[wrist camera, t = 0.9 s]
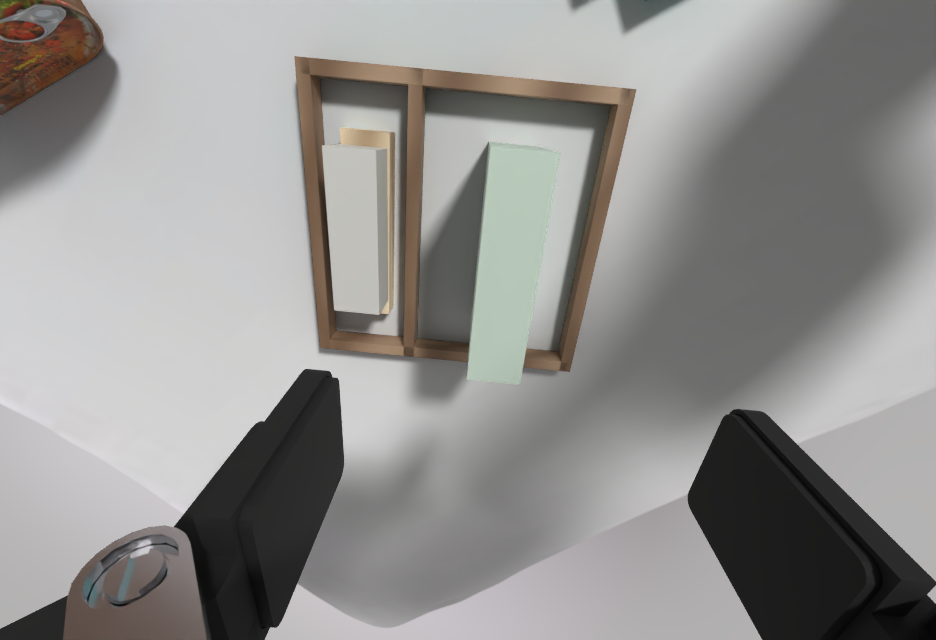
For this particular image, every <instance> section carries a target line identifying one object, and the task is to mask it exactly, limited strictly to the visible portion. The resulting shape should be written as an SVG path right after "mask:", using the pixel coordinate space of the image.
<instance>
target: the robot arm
mask: <svg viewBox="0 0 936 640" xmlns="http://www.w3.org/2000/svg"><path fill="white" fill-rule="evenodd" d="M343 468H344V452H343V436H342V420H341V405H340V389H339V380H338V378H332V375H331V372H329V371H322V370H311V369H305V370H304V371H303V372H302V373H301V374H300V375H299V377H298V378H297V379H296V381H295V382H294V383H293V385H292V386H291V387H290V389H289V390H288V391H287V392H286V394H285V395H284V396H283V398H282V399H281V400H280V402H279V403H278V404H277V406H276V407H275V408H274V410H273V411H272V412H271V414H270V415H269V416H268V418H267V419H266V420H265V421H264V422H262V421H261V422H258V423H256V424H255V425H254V426H253V427H252V428H251V429H250V431H249V432H248V433H247V435H246V436H245V437H244V438H243V440H242V441H241V442H240V443H239V445H238V446H237V447H236V449H235V450H234V451H233V452H232V454H231V455H230V456H229V457H228V459H227V460H226V461H225V463H224V464H223V465H222V466H221V468H220V469H219V470H218V471H217V473H216V474H215V475H214V477H213V478H212V479H211V480H210V482H209V483H208V484H207V485H206V487H205V488H204V489H203V491H202V492H201V493H200V494H199V496H198V497H197V498H196V499H195V501H194V502H193V503H192V505H191V506H190V507H189V508H188V510H187V511H186V512H185V513H184V515H183V516H182V517H181V519H180V520H179V521H178V522H177V524H176V525H175V526H174V527H169V526H156V527H148V528H145V529H142V530H138V531H135V532H132V533H130V534H128V535H126V536H124V537H122V538H120V539H118V540H116V541H114V542H112V543H111V544H110V545H108V546H107V547H106V548H104V549H103V550H101V551H100V552H98V553H97V554H96V555H95V556H94V557H93V558H92V559H91V560H90V561H89V562H88V563H87V564H86V565H85V566H84V567H83V568H82V569H81V571H80V572H79V573H78V575H77V576H76V578H75V579H74V581H73V583H72V584H71V588H70V591H69V594H68V596H66V597H64V598H62V599H60V600H58V601H56V602H54V603H52V604H50V605H47V606H46V607H43V608H41V609H39V610H37V611H35V612H33V613H31V614H29V615H27V616H25V617H23V618H21V619H19V620H17V621H15V622H13V623H11V624H9V625H7V626H5V627H3V628H1V629H0V640H265V637H266V635H267V633H268V630H269V628H270V627H274V628H275V627H277V626H279V624H280V622H281V621H282V618H283V616H284V614H285V612H286V609H287V607H288V604H289V602H290V599H291V597H292V594H293V592H294V590H295V587H296V585H297V583H298V580H299V578H300V575H301V573H302V570H303V568H304V566H305V563H306V561H307V558H308V556H309V554H310V551H311V549H312V546H313V544H314V541H315V539H316V537H317V534H318V532H319V529H320V527H321V525H322V522H323V520H324V517H325V515H326V512H327V510H328V508H329V505H330V503H331V500H332V498H333V495H334V493H335V491H336V488H337V486H338V483H339V481H340V479H341V476H342V472H343ZM688 504H689V507H690V509H691V511H692V513H693V515H694V517H695V519H696V520H697V522H698V524H699V525H700V528H701V529H702V531H703V533H704V534H705V537H706V538H707V540H708V542H709V544H710V546H711V548H712V549H713V551H714V553H715V555H716V557H717V558H718V560H719V562H720V564H721V566H722V567H723V569H724V571H725V573H726V575H727V576H728V578H729V580H730V582H731V584H732V586H733V587H734V589H735V591H736V593H737V595H738V596H739V598H740V600H741V602H742V603H743V605H744V607H745V609H746V611H747V613H748V615H749V616H750V618H751V620H752V622H753V624H754V625H755V627H756V629H757V631H758V633H759V634H760V636H761V638H762V640H936V604H935V603H934V602H933V601H932V600H931V599H930V598H929V597H928V596H927V594H928V593H929V592H930V591H931V589H932V588H933V587H934V586H935V585H936V582H935V580H933V578H931V576H930V575H929V574H927V573H926V572H925V571H924V570H923V569H922V568H921V567H920V566H919V565H918V564H917V563H916V562H915V561H914V560H913V559H912V558H911V557H910V556H909V555H908V554H907V553H906V552H905V551H904V550H903V549H902V548H901V547H900V546H899V545H898V544H897V543H896V542H895V541H894V540H893V539H892V538H891V537H890V536H889V535H888V534H887V533H886V532H885V531H884V530H883V529H882V528H881V527H880V526H879V525H878V524H877V523H876V522H875V521H874V520H873V519H872V518H871V517H870V516H869V515H868V514H867V513H866V512H865V511H864V510H863V509H862V508H861V507H860V506H859V505H858V504H857V503H856V502H855V501H854V500H853V499H852V498H851V497H850V496H849V495H847V493H846V492H845V491H844V490H843V489H842V488H841V487H840V486H839V485H838V484H837V483H836V482H835V481H833V480H832V479H831V478H830V477H829V476H828V475H827V474H826V473H825V472H824V471H823V470H822V469H821V468H820V467H819V466H818V465H817V464H816V463H815V462H814V461H813V460H812V459H811V458H810V457H809V456H808V455H807V454H806V453H805V452H804V451H803V450H802V449H801V448H800V447H799V446H798V445H797V444H796V443H795V442H794V441H793V440H792V439H791V438H790V437H789V436H788V435H787V434H786V433H785V432H784V431H783V430H782V429H781V428H780V427H779V426H778V425H777V424H776V423H775V422H774V421H773V420H772V419H771V418H770V417H769V416H768V415H767V414H765V413H764V412H761V411H752V410H741V409H735V410H733V411H731V412H730V414H729V415H726V416H724V417H723V419H722V421H721V423H720V425H719V427H718V430H717V432H716V434H715V436H714V438H713V440H712V443H711V445H710V447H709V449H708V451H707V453H706V456H705V458H704V460H703V462H702V464H701V466H700V469H699V471H698V473H697V475H696V477H695V480H694V482H693V484H692V486H691V488H690V490H689V493H688Z"/></svg>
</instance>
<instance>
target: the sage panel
mask: <svg viewBox="0 0 936 640" xmlns="http://www.w3.org/2000/svg"><path fill="white" fill-rule="evenodd" d="M559 158H560V153H558V152H554V151H551V150H548V149H544V148H541V147H537V146H529V145H518V144H508V143H498V142H489V146H488V156H487V166H486V176H485V186H484V196H483V206H482V216H481V226H480V236H479V246H478V256H477V265H476V275H475V285H474V295H473V305H472V316H471V329H470V342H469V355H468V368H467V380H474V381H484V382H495V383H505V384H516V385H520V382H521V376H522V370H523V365H524V359H525V353H526V347H527V342H528V336H529V330H530V324H531V319H532V313H533V307H534V302H535V296H536V290H537V284H538V279H539V273H540V267H541V261H542V256H543V250H544V244H545V238H546V233H547V227H548V221H549V215H550V210H551V204H552V198H553V192H554V187H555V181H556V175H557V169H558V164H559Z"/></svg>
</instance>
